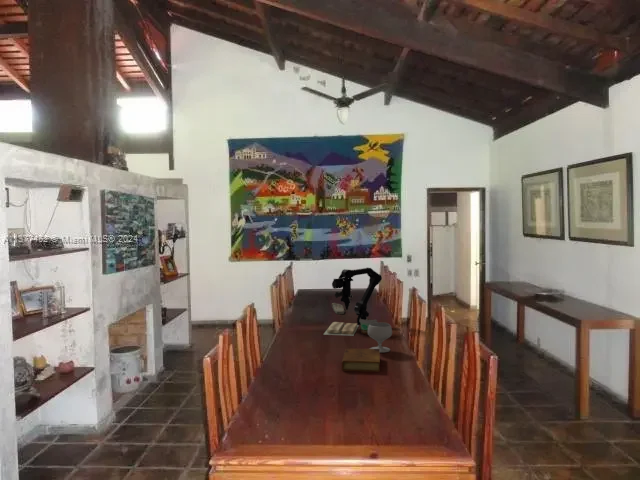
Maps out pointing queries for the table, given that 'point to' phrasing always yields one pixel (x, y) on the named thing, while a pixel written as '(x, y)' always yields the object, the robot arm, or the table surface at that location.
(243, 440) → the table surface
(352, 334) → the underlay mat
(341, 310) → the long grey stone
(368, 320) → the food container
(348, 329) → the oak board
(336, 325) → the plank
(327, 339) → the table surface
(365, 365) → the diary
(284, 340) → the table surface
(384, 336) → the chalice
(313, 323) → the table surface
